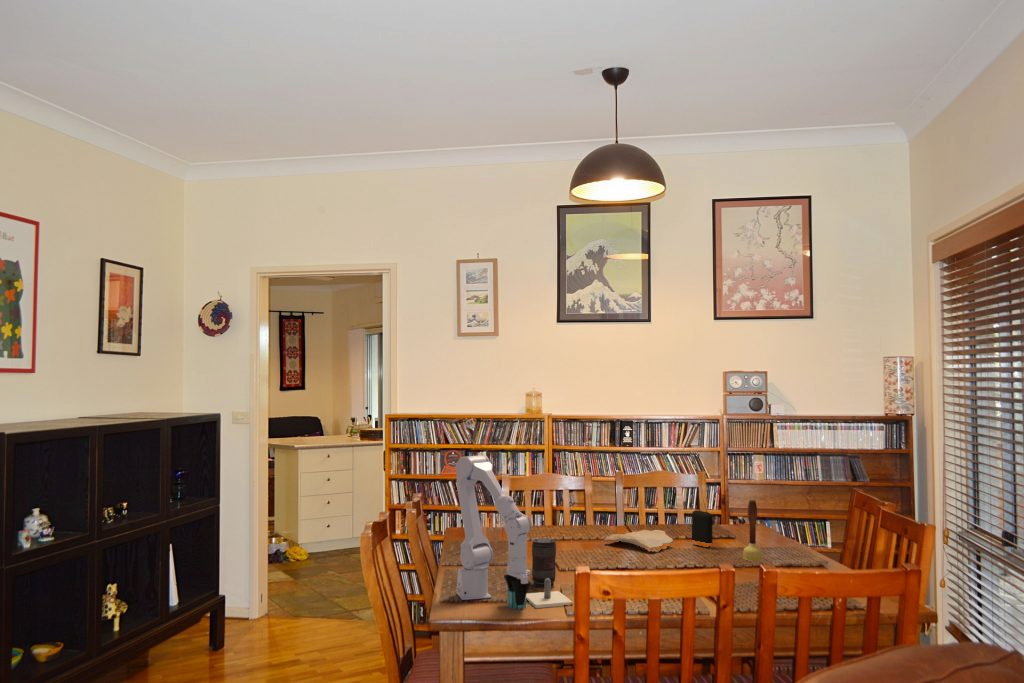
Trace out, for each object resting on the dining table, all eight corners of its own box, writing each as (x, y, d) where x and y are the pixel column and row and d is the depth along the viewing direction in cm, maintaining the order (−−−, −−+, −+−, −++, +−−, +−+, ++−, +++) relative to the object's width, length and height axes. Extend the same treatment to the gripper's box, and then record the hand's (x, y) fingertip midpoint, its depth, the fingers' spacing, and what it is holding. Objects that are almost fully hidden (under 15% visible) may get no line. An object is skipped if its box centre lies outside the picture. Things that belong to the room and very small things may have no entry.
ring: (510, 610, 222) (511, 593, 222) (505, 604, 227) (505, 587, 227) (528, 608, 223) (528, 591, 224) (522, 603, 229) (522, 586, 229)
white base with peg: (535, 608, 224) (535, 584, 224) (522, 596, 235) (523, 574, 236) (572, 605, 228) (572, 581, 228) (558, 594, 239) (558, 572, 239)
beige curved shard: (629, 540, 327) (601, 542, 312) (631, 523, 327) (603, 524, 313) (677, 552, 309) (650, 555, 295) (679, 534, 310) (651, 536, 296)
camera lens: (554, 582, 253) (555, 537, 254) (556, 588, 245) (557, 542, 246) (530, 582, 253) (531, 537, 254) (532, 588, 245) (532, 542, 246)
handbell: (728, 565, 280) (728, 498, 282) (755, 563, 285) (755, 497, 286) (749, 573, 269) (749, 503, 270) (777, 571, 273) (777, 502, 274)
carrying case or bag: (715, 548, 308) (715, 512, 309) (711, 549, 306) (711, 513, 307) (694, 544, 316) (694, 509, 317) (690, 545, 314) (690, 510, 315)
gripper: (538, 561, 220) (537, 607, 220) (522, 550, 234) (521, 594, 233) (515, 562, 218) (514, 609, 217) (500, 551, 232) (500, 595, 231)
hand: (516, 601), depth 225 cm, fingers closed on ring, 6 cm apart
